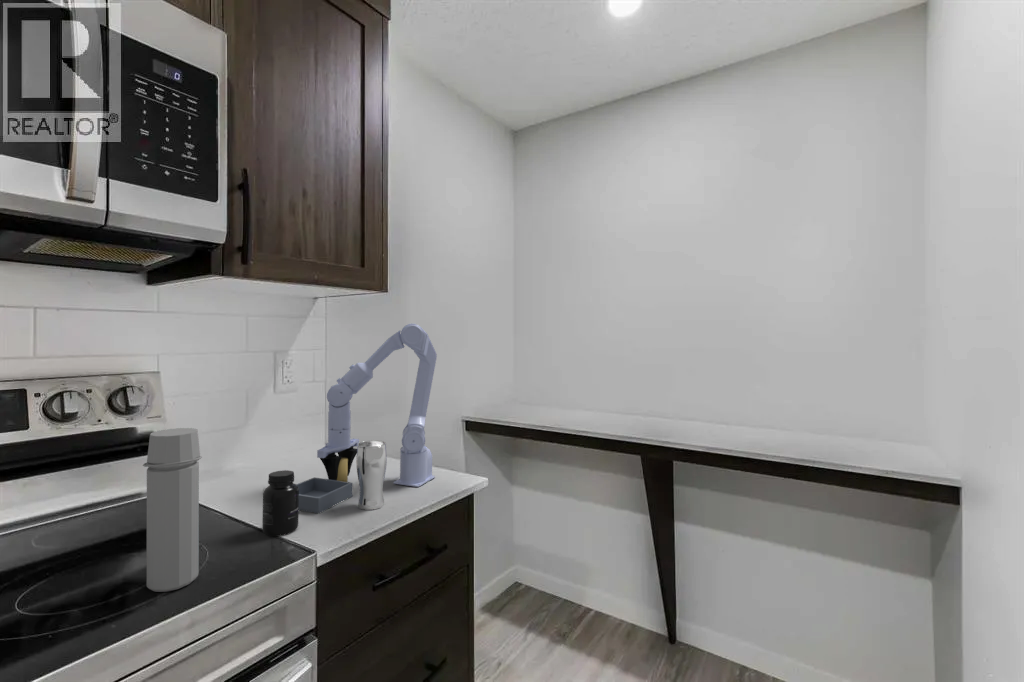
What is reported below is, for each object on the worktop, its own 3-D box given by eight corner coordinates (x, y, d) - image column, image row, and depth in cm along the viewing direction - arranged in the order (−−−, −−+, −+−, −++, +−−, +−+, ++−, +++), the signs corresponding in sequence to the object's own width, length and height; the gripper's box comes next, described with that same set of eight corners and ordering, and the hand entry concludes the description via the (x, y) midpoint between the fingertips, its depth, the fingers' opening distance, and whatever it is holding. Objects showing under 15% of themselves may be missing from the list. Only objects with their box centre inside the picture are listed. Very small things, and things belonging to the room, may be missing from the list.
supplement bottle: (300, 533, 98) (300, 475, 98) (262, 539, 95) (263, 480, 95) (296, 521, 104) (297, 467, 104) (261, 527, 101) (262, 471, 101)
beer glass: (349, 507, 113) (350, 444, 112) (371, 498, 119) (371, 438, 119) (371, 513, 110) (372, 448, 109) (392, 503, 116) (392, 442, 115)
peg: (337, 481, 131) (337, 456, 131) (350, 483, 130) (351, 458, 130) (326, 486, 127) (326, 460, 127) (340, 488, 126) (340, 462, 126)
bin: (314, 490, 124) (314, 477, 124) (352, 496, 120) (352, 482, 120) (277, 506, 113) (277, 491, 113) (318, 513, 109) (318, 498, 109)
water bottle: (207, 581, 79) (208, 432, 78) (148, 601, 73) (149, 439, 73) (191, 562, 85) (192, 424, 85) (136, 579, 79) (136, 430, 79)
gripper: (344, 422, 136) (344, 469, 137) (307, 432, 123) (307, 484, 123) (365, 424, 134) (365, 472, 134) (330, 434, 120) (329, 487, 121)
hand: (338, 478), depth 129 cm, fingers closed on peg, 4 cm apart
